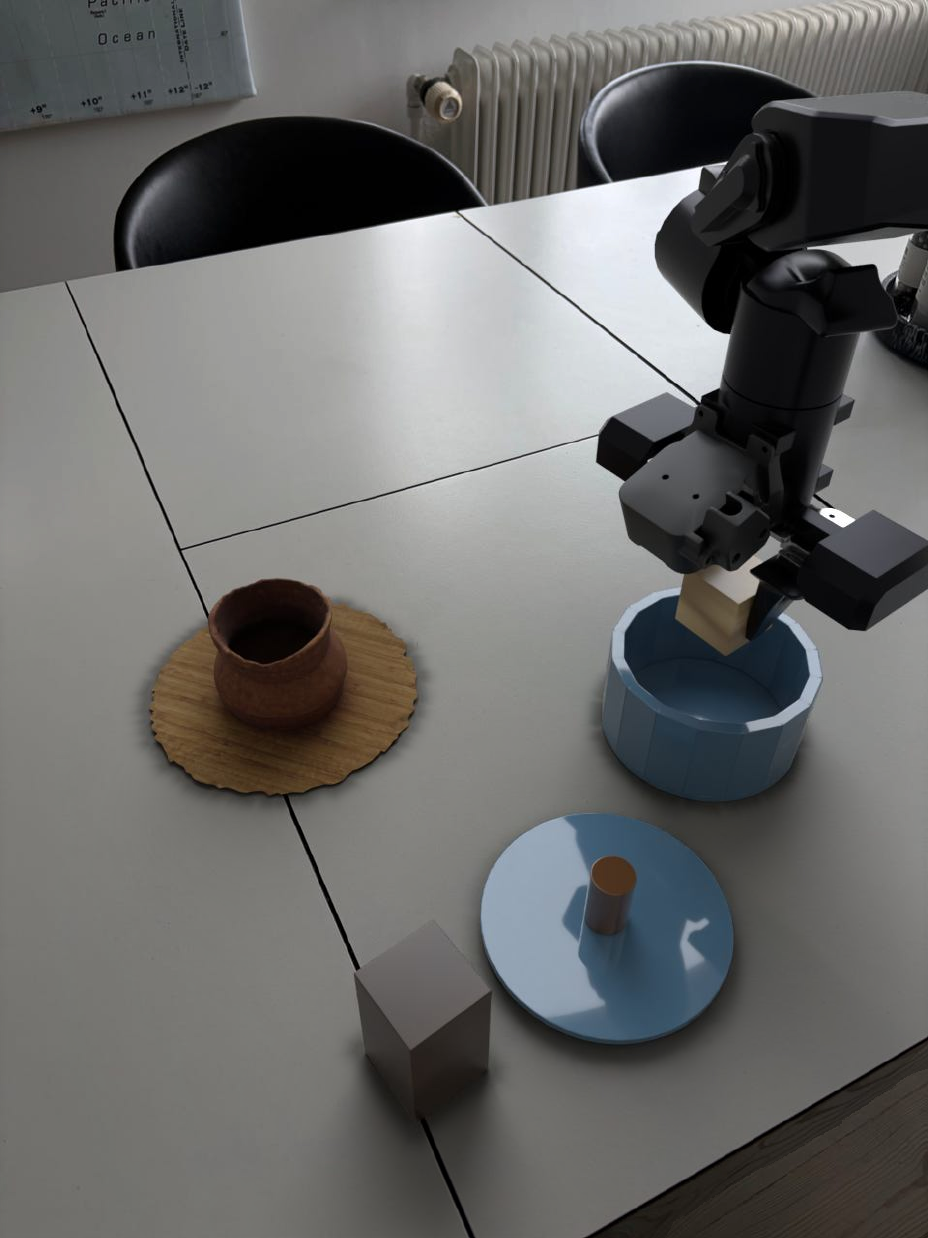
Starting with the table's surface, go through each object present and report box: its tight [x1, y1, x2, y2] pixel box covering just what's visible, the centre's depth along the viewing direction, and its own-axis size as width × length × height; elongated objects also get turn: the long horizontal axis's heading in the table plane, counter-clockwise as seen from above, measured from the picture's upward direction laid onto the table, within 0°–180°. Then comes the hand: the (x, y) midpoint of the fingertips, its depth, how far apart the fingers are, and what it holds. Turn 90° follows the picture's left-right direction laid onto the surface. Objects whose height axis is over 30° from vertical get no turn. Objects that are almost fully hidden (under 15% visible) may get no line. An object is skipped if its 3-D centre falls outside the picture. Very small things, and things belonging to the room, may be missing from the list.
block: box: [675, 554, 773, 656], centre depth 58 cm, size 4×4×4 cm
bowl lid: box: [479, 812, 734, 1045], centre depth 53 cm, size 14×14×5 cm
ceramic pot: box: [148, 577, 419, 797], centre depth 65 cm, size 18×18×7 cm
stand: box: [353, 919, 493, 1125], centre depth 47 cm, size 4×4×8 cm
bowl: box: [601, 586, 824, 803], centre depth 64 cm, size 13×13×6 cm
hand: (724, 616), depth 59 cm, fingers closed on block, 4 cm apart
